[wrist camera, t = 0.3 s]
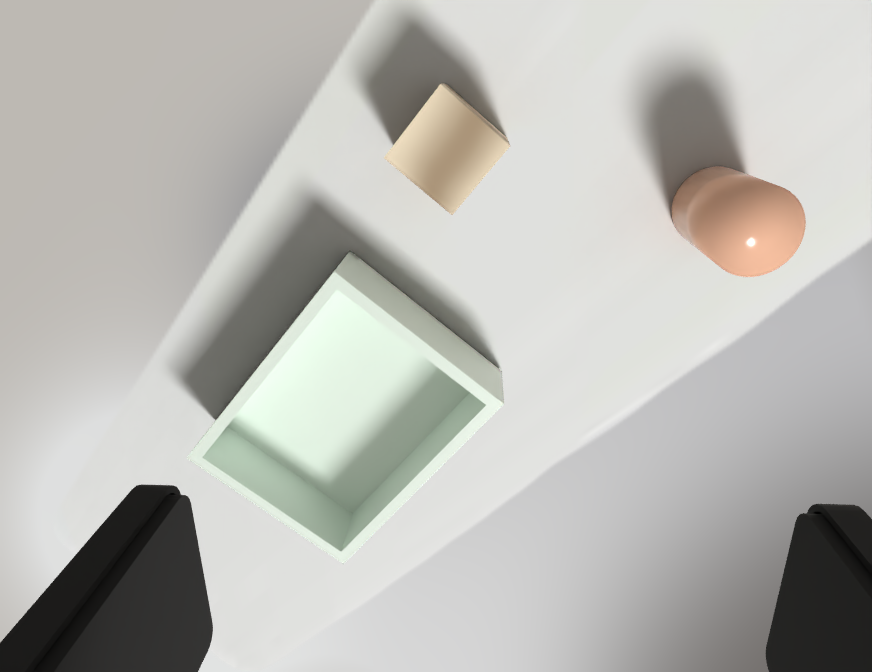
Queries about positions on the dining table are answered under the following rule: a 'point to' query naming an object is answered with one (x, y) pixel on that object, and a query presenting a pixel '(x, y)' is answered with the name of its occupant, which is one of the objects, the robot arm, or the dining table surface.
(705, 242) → the terracotta cylinder
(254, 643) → the dining table surface
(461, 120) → the wooden cube
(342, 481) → the tote
